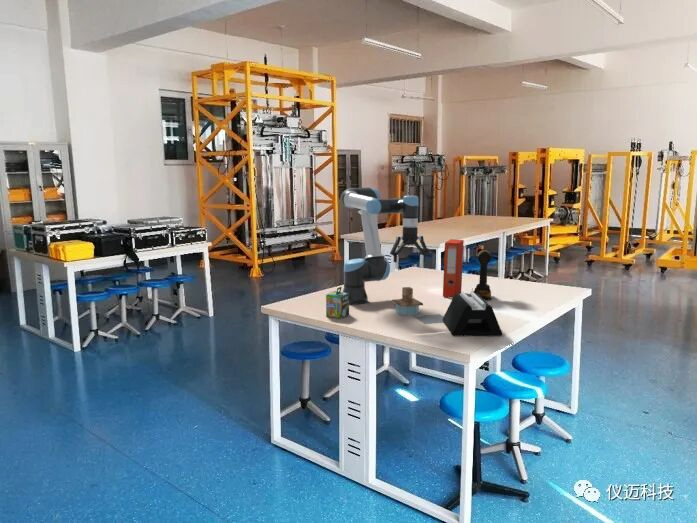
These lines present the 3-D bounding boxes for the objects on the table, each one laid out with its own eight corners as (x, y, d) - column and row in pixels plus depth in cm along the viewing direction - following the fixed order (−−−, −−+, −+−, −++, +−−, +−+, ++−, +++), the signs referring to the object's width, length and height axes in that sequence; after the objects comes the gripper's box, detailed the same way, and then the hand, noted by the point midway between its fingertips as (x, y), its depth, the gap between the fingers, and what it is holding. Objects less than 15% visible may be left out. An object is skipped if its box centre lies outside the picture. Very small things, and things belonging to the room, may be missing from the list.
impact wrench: (470, 299, 322) (472, 251, 317) (472, 292, 342) (474, 246, 337) (495, 301, 318) (497, 252, 314) (495, 293, 338) (497, 247, 334)
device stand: (488, 321, 273) (490, 291, 270) (502, 336, 251) (504, 303, 248) (442, 321, 272) (443, 291, 270) (452, 336, 250) (453, 303, 248)
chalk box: (333, 312, 292) (333, 284, 289) (349, 314, 288) (350, 286, 285) (325, 316, 284) (325, 287, 281) (341, 318, 280) (341, 289, 277)
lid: (400, 306, 281) (401, 291, 280) (391, 301, 293) (392, 286, 291) (422, 305, 285) (423, 289, 284) (413, 300, 296) (413, 285, 295)
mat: (425, 325, 268) (425, 324, 268) (412, 317, 282) (412, 316, 282) (453, 322, 273) (453, 321, 273) (439, 315, 287) (439, 314, 287)
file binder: (461, 292, 341) (463, 239, 336) (456, 298, 325) (458, 243, 320) (448, 291, 344) (450, 239, 339) (442, 297, 328) (444, 242, 323)
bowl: (401, 317, 283) (401, 306, 282) (393, 312, 293) (393, 301, 292) (421, 315, 286) (421, 305, 285) (412, 310, 296) (412, 300, 296)
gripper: (389, 227, 277) (388, 270, 280) (436, 226, 284) (434, 268, 287) (384, 226, 284) (383, 267, 287) (429, 225, 291) (428, 265, 294)
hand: (409, 268), depth 287 cm, fingers open, 13 cm apart
